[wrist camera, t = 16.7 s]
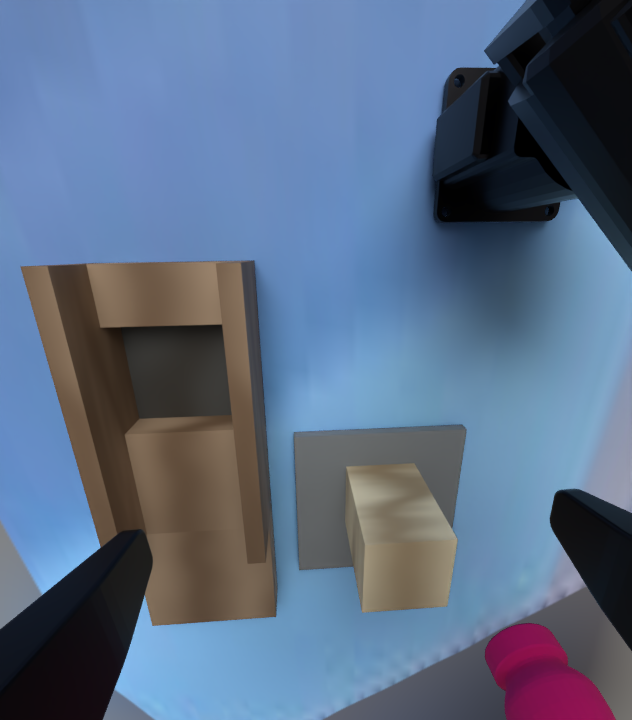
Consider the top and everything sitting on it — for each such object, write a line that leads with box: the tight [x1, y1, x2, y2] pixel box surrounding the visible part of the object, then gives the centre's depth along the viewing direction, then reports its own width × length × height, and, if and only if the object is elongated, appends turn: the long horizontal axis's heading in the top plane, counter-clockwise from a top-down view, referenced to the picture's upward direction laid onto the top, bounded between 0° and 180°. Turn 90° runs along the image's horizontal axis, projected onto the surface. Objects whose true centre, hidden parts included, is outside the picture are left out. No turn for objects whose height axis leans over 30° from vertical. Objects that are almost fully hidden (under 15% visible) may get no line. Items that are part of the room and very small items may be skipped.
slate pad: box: [294, 425, 467, 570], centre depth 22 cm, size 11×11×1 cm
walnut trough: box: [21, 261, 277, 626], centre depth 19 cm, size 8×24×4 cm, turn 1°
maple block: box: [345, 463, 458, 613], centre depth 19 cm, size 4×4×6 cm
